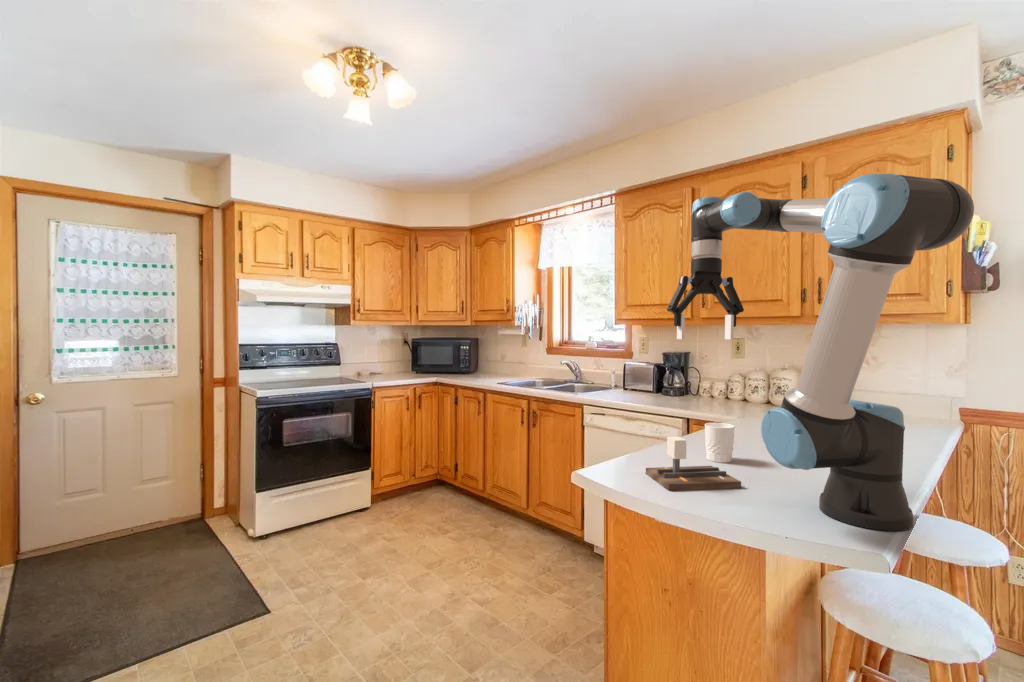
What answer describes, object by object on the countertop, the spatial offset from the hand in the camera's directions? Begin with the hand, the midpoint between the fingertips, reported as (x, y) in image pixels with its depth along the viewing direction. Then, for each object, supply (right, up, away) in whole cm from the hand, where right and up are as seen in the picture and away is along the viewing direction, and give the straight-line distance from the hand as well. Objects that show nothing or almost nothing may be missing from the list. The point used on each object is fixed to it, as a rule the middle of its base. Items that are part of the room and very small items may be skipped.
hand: (704, 339), depth 125 cm
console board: (-7, -35, -8) cm, 36 cm away
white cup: (+9, -35, +11) cm, 37 cm away
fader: (-11, -33, -9) cm, 36 cm away
